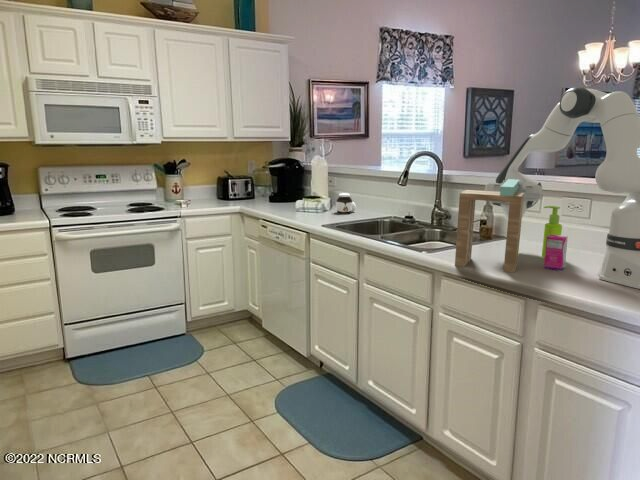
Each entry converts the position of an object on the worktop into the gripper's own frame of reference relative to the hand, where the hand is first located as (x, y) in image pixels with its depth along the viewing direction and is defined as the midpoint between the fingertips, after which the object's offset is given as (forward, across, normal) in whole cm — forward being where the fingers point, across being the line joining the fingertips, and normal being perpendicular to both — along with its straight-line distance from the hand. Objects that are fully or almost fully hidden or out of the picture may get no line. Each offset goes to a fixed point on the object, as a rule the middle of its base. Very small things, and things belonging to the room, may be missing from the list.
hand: (512, 182), depth 180 cm
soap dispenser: (-24, -15, -20) cm, 34 cm away
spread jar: (-87, +101, +16) cm, 134 cm away
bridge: (-4, +6, -31) cm, 32 cm away
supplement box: (-10, -17, -28) cm, 34 cm away
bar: (+5, 0, -6) cm, 8 cm away
